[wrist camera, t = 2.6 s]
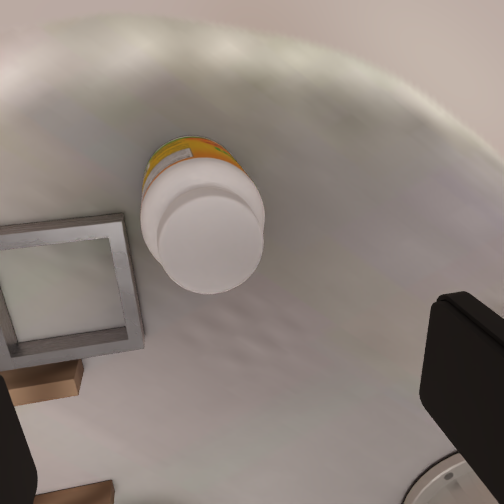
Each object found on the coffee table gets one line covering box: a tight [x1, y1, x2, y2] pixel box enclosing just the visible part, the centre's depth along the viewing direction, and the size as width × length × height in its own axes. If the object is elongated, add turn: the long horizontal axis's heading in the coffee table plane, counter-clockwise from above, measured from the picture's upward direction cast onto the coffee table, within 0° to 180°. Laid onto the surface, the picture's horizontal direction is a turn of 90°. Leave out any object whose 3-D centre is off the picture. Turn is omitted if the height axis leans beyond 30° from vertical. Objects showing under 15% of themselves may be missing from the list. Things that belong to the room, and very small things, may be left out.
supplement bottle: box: [140, 136, 265, 294], centre depth 21 cm, size 5×5×10 cm
